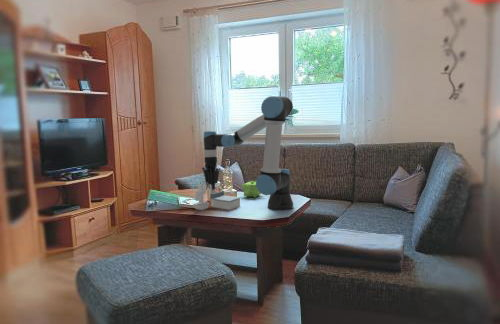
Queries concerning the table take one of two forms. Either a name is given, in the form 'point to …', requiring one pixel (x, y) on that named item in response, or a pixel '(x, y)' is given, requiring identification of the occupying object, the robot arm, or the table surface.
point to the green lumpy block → (250, 189)
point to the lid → (223, 197)
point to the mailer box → (225, 204)
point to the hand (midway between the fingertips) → (212, 194)
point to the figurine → (200, 198)
